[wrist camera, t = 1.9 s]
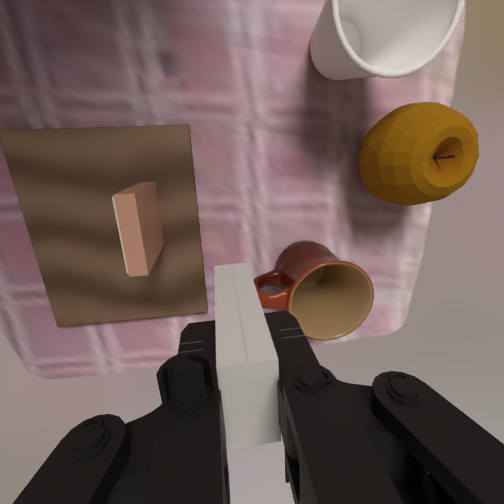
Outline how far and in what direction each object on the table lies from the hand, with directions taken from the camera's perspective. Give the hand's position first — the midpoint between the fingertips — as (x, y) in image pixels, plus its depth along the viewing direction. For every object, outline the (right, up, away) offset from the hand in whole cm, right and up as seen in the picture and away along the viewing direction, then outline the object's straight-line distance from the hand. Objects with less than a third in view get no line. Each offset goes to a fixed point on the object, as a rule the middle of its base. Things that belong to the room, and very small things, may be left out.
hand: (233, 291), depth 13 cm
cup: (+10, +23, +17) cm, 30 cm away
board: (-14, +4, +20) cm, 25 cm away
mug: (+6, 0, +25) cm, 25 cm away
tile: (-10, +6, +19) cm, 22 cm away
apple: (+16, +13, +22) cm, 30 cm away
